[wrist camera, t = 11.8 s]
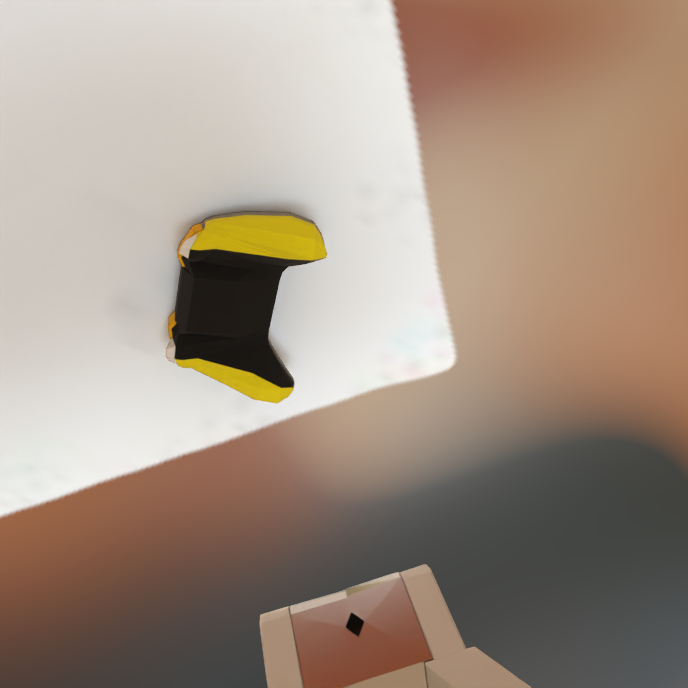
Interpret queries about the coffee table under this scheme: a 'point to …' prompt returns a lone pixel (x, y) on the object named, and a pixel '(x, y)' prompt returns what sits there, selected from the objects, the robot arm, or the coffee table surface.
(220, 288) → the gaming controller
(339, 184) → the coffee table surface
